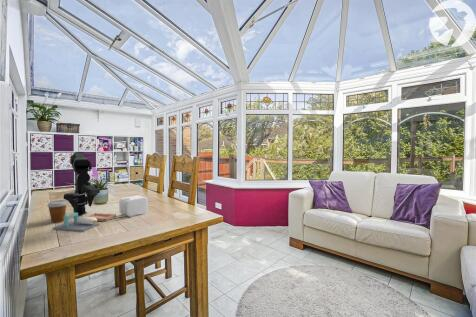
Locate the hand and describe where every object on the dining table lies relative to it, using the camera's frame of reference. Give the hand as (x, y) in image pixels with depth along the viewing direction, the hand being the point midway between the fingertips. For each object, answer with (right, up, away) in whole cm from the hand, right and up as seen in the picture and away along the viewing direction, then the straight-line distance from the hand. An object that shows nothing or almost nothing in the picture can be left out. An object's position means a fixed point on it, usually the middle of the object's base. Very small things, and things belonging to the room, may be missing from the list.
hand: (83, 208), depth 131 cm
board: (-5, -11, +2) cm, 12 cm away
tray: (-1, -10, +17) cm, 20 cm away
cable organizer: (+17, -10, +27) cm, 33 cm away
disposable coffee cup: (-23, -11, +12) cm, 28 cm away
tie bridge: (-8, -10, +2) cm, 13 cm away
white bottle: (0, -8, +1) cm, 8 cm away
